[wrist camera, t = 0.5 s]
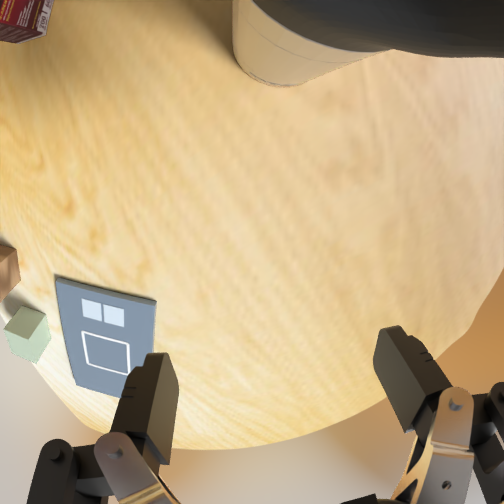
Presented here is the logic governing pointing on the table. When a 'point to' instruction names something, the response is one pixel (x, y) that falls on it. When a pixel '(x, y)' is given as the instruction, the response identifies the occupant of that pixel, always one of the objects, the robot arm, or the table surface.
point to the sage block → (28, 334)
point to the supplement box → (24, 19)
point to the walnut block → (8, 270)
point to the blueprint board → (104, 334)
